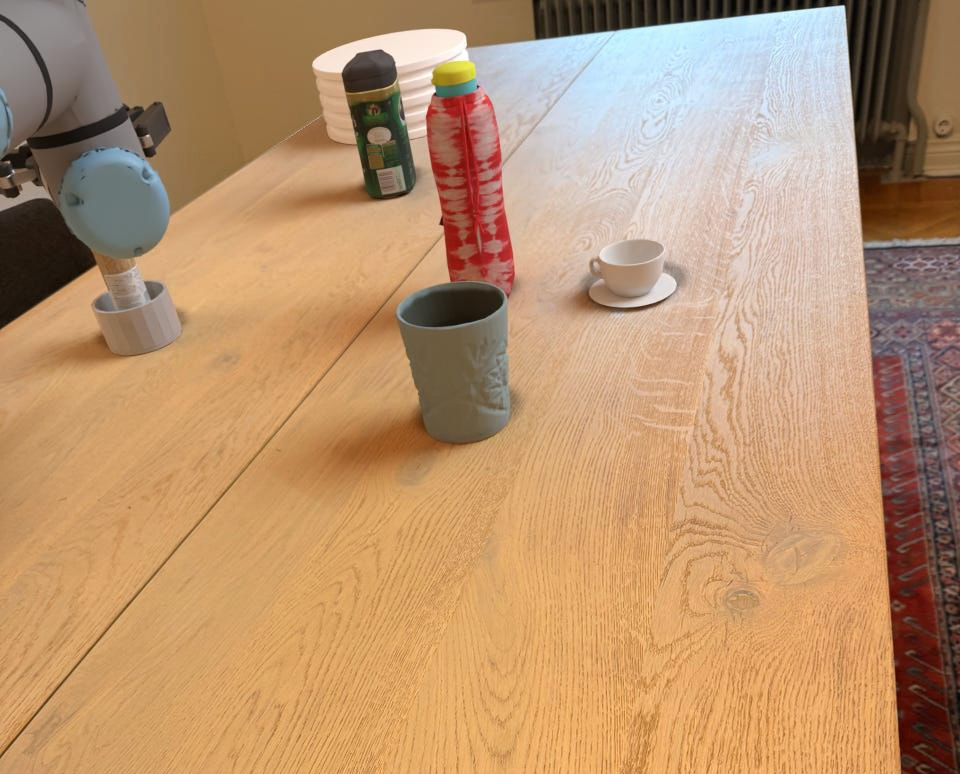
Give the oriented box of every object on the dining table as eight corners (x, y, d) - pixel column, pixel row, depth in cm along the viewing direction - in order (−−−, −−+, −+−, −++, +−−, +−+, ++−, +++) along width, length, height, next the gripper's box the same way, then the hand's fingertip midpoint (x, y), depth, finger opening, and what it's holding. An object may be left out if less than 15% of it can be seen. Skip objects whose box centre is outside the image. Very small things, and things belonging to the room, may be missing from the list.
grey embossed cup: (399, 425, 94) (374, 310, 86) (476, 383, 98) (458, 270, 90) (463, 459, 88) (441, 339, 80) (542, 413, 92) (529, 294, 84)
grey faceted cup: (98, 342, 120) (79, 301, 116) (162, 314, 123) (146, 273, 120) (128, 362, 114) (109, 319, 110) (195, 332, 118) (179, 290, 114)
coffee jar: (371, 182, 151) (343, 50, 139) (419, 175, 150) (395, 42, 138) (363, 203, 144) (334, 66, 132) (414, 196, 143) (389, 57, 131)
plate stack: (302, 148, 171) (285, 77, 163) (363, 101, 189) (350, 35, 182) (445, 141, 162) (433, 65, 154) (494, 92, 180) (486, 23, 173)
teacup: (686, 275, 110) (687, 235, 106) (661, 313, 103) (661, 272, 100) (605, 272, 114) (603, 232, 110) (576, 308, 107) (573, 268, 104)
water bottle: (448, 281, 118) (410, 54, 101) (511, 270, 118) (483, 41, 101) (454, 321, 109) (414, 80, 92) (522, 310, 109) (494, 66, 92)
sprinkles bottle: (134, 327, 120) (90, 220, 111) (167, 324, 120) (126, 215, 110) (122, 344, 117) (75, 235, 108) (156, 340, 116) (112, 230, 107)
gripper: (-40, 262, 78) (-55, 208, 93) (240, 176, 85) (184, 138, 100) (-91, 166, 73) (-97, 125, 88) (212, 82, 80) (157, 57, 95)
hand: (52, 132), depth 94 cm, fingers open, 13 cm apart
